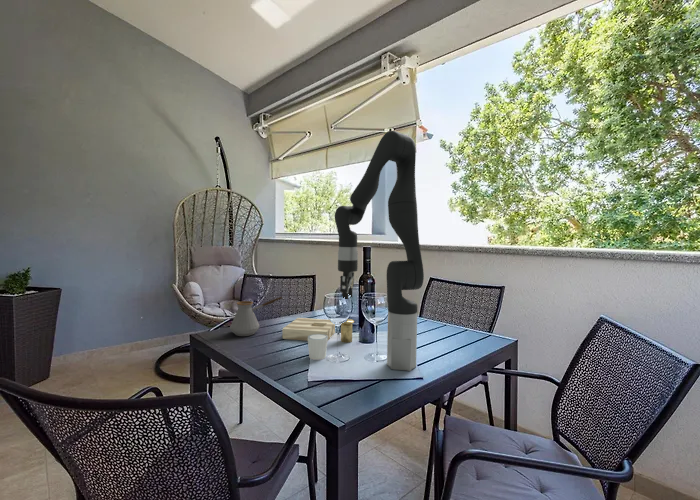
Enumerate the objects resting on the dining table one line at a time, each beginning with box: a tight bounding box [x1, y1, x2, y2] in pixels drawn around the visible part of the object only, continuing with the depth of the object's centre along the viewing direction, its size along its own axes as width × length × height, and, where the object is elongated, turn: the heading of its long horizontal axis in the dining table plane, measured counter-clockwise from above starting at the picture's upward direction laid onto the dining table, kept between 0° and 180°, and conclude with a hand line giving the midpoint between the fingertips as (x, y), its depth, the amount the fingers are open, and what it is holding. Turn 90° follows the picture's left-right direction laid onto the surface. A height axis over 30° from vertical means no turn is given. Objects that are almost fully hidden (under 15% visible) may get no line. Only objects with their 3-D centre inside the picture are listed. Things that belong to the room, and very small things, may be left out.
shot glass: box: [307, 334, 329, 361], centre depth 117 cm, size 7×7×7 cm
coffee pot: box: [229, 296, 284, 337], centre depth 144 cm, size 21×12×15 cm, turn 100°
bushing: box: [340, 318, 355, 344], centre depth 135 cm, size 6×6×8 cm
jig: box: [282, 317, 336, 342], centre depth 144 cm, size 18×18×4 cm
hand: (347, 300), depth 134 cm, fingers open, 8 cm apart
